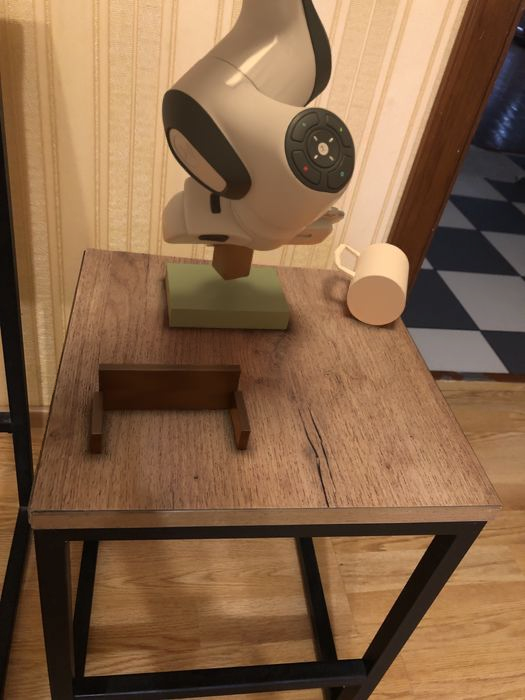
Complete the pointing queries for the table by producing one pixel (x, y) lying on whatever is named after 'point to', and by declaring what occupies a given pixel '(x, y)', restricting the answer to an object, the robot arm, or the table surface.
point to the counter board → (224, 298)
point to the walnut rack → (169, 392)
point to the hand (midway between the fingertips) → (233, 241)
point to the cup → (376, 282)
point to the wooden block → (232, 261)
